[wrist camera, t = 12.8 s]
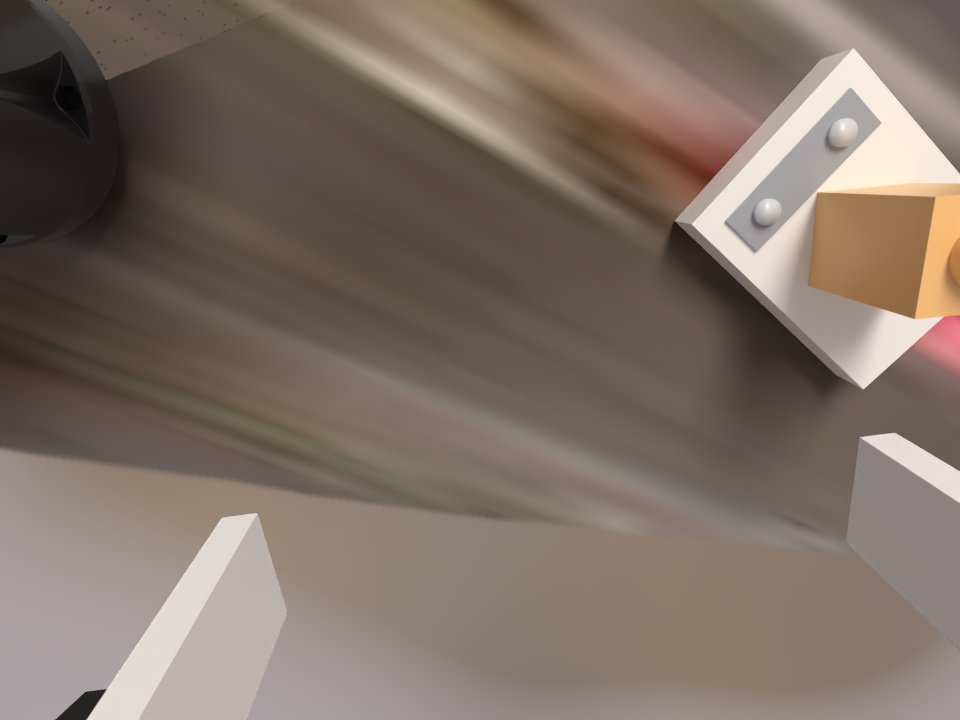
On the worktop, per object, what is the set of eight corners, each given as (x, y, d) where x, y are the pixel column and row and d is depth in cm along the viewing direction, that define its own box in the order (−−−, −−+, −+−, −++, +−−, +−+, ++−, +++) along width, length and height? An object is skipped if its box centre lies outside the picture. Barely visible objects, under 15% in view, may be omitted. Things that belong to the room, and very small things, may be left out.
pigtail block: (674, 220, 37) (719, 230, 31) (821, 59, 34) (906, 30, 28) (835, 374, 41) (906, 412, 35) (979, 241, 38) (1087, 255, 32)
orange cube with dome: (808, 285, 36) (948, 329, 26) (817, 192, 34) (973, 198, 24) (897, 277, 36) (1074, 317, 26) (912, 183, 34) (1110, 185, 24)
